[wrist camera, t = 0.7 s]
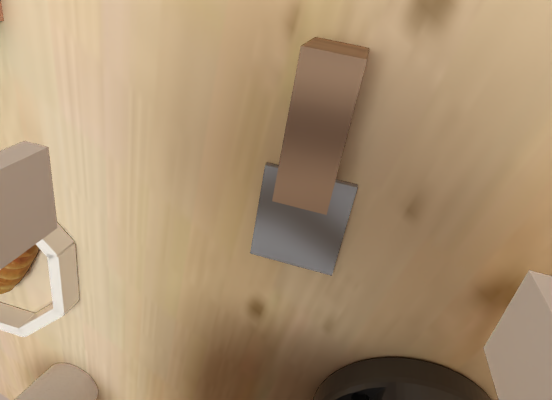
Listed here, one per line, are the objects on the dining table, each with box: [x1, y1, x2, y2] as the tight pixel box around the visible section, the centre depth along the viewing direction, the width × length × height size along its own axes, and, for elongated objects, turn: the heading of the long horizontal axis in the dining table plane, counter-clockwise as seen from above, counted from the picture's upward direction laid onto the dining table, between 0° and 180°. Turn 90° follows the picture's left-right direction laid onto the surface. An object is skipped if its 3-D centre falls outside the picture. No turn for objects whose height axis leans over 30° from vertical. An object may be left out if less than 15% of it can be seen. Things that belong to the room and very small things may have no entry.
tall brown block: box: [250, 37, 369, 276], centre depth 24 cm, size 15×6×5 cm, turn 170°
